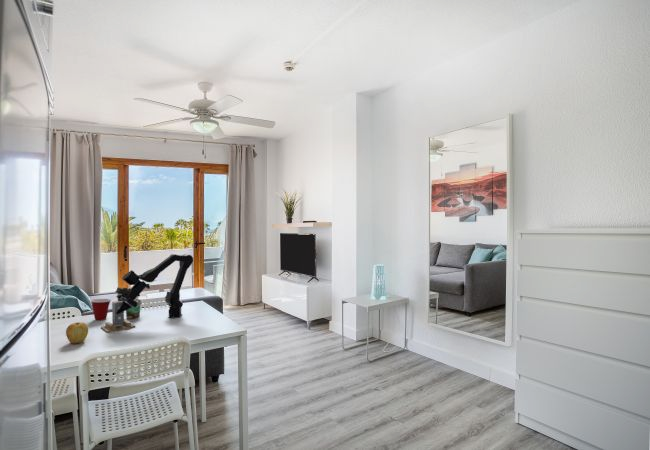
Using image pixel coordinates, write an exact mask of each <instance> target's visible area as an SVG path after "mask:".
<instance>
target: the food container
mask: <svg viewBox="0 0 650 450" xmlns="http://www.w3.org/2000/svg"><path fill="white" fill-rule="evenodd" d="M135 301H136V302H137V303H138V305H137V306H136V307H135V308H134V307H133V306H131V307H132V308H130V309H127V310H125V313H126V315H125V316H126V320H134V319H135V320H136V319H138V318H140V317H141V315H140V314H141V305H142V303H143V302H142V300H141V299H138V298H136V299H135Z"/></svg>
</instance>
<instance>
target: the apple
mask: <svg viewBox="0 0 650 450" xmlns="http://www.w3.org/2000/svg"><path fill="white" fill-rule="evenodd" d="M88 333H89V327H88V325H87V324H86V323H85V322H77V321H76V322H73V323H70V324H69V325H68V326H67V327H66V330H65V336H66V338H67V340H68V341H69V343H70V344H74V345H75V344H80V343H83V342H84V341H86V338H87V336H88V335H89V334H88Z"/></svg>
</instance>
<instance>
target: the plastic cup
mask: <svg viewBox="0 0 650 450" xmlns="http://www.w3.org/2000/svg"><path fill="white" fill-rule="evenodd" d="M111 301H112V299H111V298H110V299H109V298H96V299H91V300H90V303H91V307H92V312H93V316H94V320H95V321H98V322H99V321H104V320H107V318H108V313H109V306H110V303H111Z"/></svg>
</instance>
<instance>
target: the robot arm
mask: <svg viewBox="0 0 650 450" xmlns="http://www.w3.org/2000/svg"><path fill="white" fill-rule="evenodd" d="M175 262H179V268H178V271H177V273H176V276H175V280H174V283H173V285H172V287H171V290H170V291H166V295H165V297H164V298H165V300H164V301H165V303H166V304H167V305H168V318H170V319H171V318H172V319H173V318H181V316H182V315H183V313H182V308H183V305H184V304H183V302H182V301H181V300H180V299H181V298H180V296H181V295H180V293H181V292H180V291H181V288H182V285H183V283H184V279H185V277H186V274H187V272H188V269H189V268H190V267H191V265H192V264H193V262H194V257H193V255H191V254H186V253H184V254H181V255H179V254H174V253H172V254H170V255H169V256H168V257H166V258H165V259H164V260H162V261H161V262H160V263H159V264H157V265H156V266H154V267H153V268H150V269H148V270H146V271H144V272H143V273H142V274H141V273H140V274H137V273H135V271H133V270H132V269H131V270H129V271H128V272H127V273H125V274H124V275H123V276H122V278H121V279H122V280H123V282H125V283H127V284H128V285H129V286H132V287H129V288H128V287H123V288H122V287H119V286H117V287H116V290H115V293H116V294H117V295H116V298H117V301H122V305H121V307H120V308H119V310H118V311H117V312H116V314H119V313H121V312H123V311H124V312H126V310H127V309H130V308H132V307H131V306H133V307H134V308H135V307H136V306H137V305H138V303H137V302H136V301H135V299H138V297H140V296H141V294H142V292H143V291H144V290H145V289H148V290H150V285H151V284H150V283H153V282H154V281H155V280H156V278H158V276H159V275H160V274H161V273H162V272H164V270H166V269H168V267H169V266H171V265H172V264H174V263H175Z"/></svg>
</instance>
